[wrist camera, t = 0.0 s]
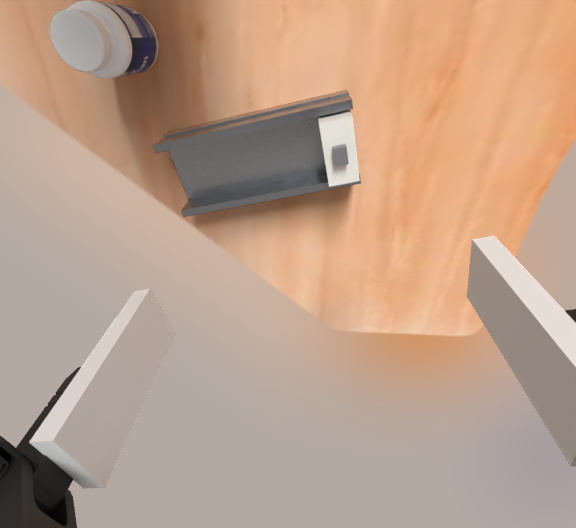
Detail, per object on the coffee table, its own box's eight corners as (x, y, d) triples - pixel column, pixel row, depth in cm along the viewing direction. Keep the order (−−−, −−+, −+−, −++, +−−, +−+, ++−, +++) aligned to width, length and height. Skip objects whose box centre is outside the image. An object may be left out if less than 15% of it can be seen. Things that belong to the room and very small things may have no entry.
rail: (169, 131, 38) (151, 143, 34) (346, 90, 34) (351, 96, 30) (196, 200, 42) (184, 218, 38) (355, 169, 39) (360, 185, 35)
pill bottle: (136, 84, 35) (85, 97, 27) (94, 34, 33) (24, 32, 25) (171, 48, 33) (127, 51, 25) (129, -8, 31) (65, -24, 23)
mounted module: (317, 113, 34) (319, 126, 29) (347, 106, 34) (353, 118, 29) (327, 170, 37) (329, 190, 32) (354, 165, 37) (360, 184, 32)
